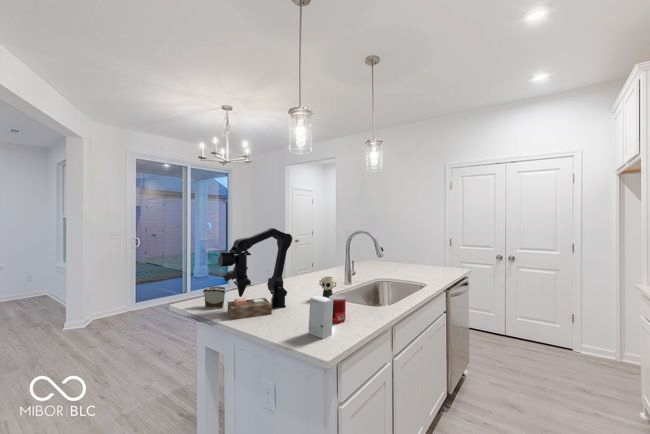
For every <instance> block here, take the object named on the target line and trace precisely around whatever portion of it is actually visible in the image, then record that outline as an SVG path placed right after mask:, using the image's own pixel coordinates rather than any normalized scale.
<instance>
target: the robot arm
mask: <svg viewBox="0 0 650 434" xmlns="http://www.w3.org/2000/svg"><path fill="white" fill-rule="evenodd" d="M270 238H273V239H275V240H276V245H277V254H276V258H275V259H276V260H275V263H274V269H273V274H272V276H271V277H268V281H267V284H266V286H267V290H268V291H269V292H270V294H271V295H272V297H270V301H271V302H270V303H271V304H272V308H273V309H281V308H286V307H287V306H286V296H287V295H288V291H287V290H286V289H285V288H284V279H283V273H284V268H285V263H286V257H287V253H288V250H289V248H290V247H291V245H292V242H293V236H292V235H291V234H290V233H287V232H286V233H285V232H283V231H280V230H278V229H277V228H271V227H270V228H268V229H266V230H264V231H262V232H259V233H256V234H254V235H252V236H249V237H243V238H238V239H235V240H234V241H233V244H232V247H231V248H230V249H229V251H228V252H225V251H221V252H220V253H219V255H218V259H217V262H218V267H220V268H223V267H233V266H234V267H233V268H232V270H229V271H226V272H225V273H222V274H221V275H222V277H223V280H224V282H226V283H227V282H228V281H230V280H231V281H233V284H235V286H236V288H237V292H238V296H239V297H240V298H243V296H244V293H245V290H246V288H247V286H251V285H252V280H251V279H250V278H248V275H247V273H248V269H249V268H248V260H247V259H248V256H251V255H252V254H251V253H250V252H249V249H251V248H252V247H253V246H254V245H256V244H258V243H260V242H263V241H265V240H268V239H270Z"/></svg>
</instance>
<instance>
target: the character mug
mask: <svg viewBox="0 0 650 434" xmlns="http://www.w3.org/2000/svg"><path fill="white" fill-rule="evenodd" d="M318 282H319V286H321V288H322V289H323V290H322V291H323V292H322V297H327V298H329V296H332V295H334V294H333V289H334V288H336V287H337V281H335V277H333V276H322V277H321V279H320V280H319V281H318Z"/></svg>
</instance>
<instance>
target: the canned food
mask: <svg viewBox="0 0 650 434" xmlns="http://www.w3.org/2000/svg"><path fill="white" fill-rule="evenodd" d="M329 299H333V316H332V324H343V323H345V321H346V305H347V304H346V296H345V295H341V294H333V295H332V296H329Z"/></svg>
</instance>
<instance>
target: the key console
mask: <svg viewBox="0 0 650 434" xmlns="http://www.w3.org/2000/svg"><path fill="white" fill-rule="evenodd" d="M253 299H254V298H253ZM253 299H252V298H251V299H246V305H242V306H235V305H234V300H232V301H227V313H228V315H229V317H230V319H231V320H240V319H246V318H247V319H248V318H254V317H256V318H257V317H260V316H261V317H262V316H269V315H272V311H273V309H272V308H273V307H272V304H271V302H270V301H269V300H268V299H267V298H266V297H261V298H258V299H263V300H264V301H265V303H259V304H254V303H253V302H252V300H253Z"/></svg>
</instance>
